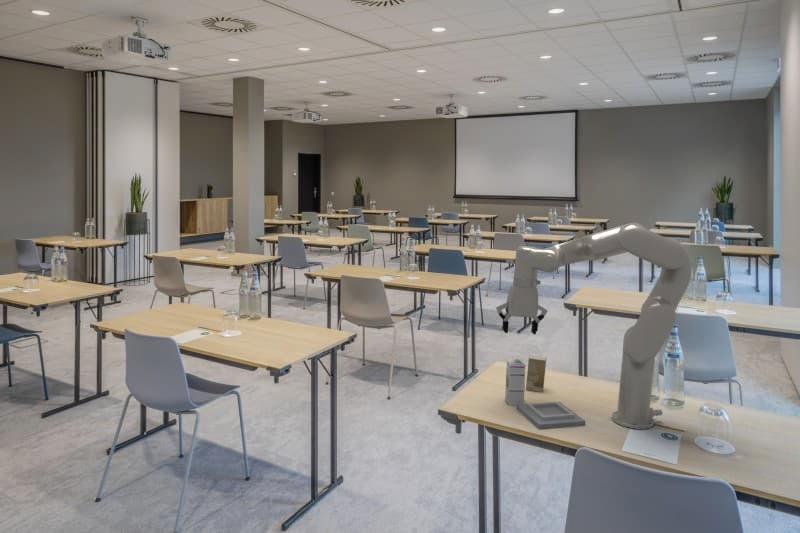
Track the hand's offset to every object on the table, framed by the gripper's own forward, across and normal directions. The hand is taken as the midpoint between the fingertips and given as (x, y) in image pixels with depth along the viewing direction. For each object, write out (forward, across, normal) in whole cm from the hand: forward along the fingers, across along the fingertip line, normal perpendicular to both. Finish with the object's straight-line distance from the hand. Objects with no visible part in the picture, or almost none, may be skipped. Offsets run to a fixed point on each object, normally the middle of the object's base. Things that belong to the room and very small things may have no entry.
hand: (519, 332), depth 197 cm
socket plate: (+24, -9, +13) cm, 29 cm away
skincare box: (+25, -12, -12) cm, 30 cm away
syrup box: (+25, -1, 0) cm, 25 cm away
